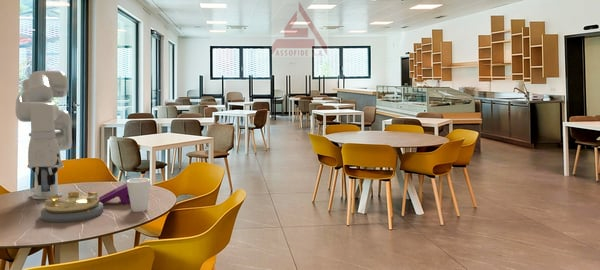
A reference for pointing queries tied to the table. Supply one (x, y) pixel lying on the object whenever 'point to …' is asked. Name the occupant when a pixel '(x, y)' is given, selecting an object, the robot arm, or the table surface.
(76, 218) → the grey round plate
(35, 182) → the robot arm
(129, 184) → the foam cup
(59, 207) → the brass lugged disc
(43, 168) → the pin
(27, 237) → the table surface
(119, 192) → the mounting bracket
